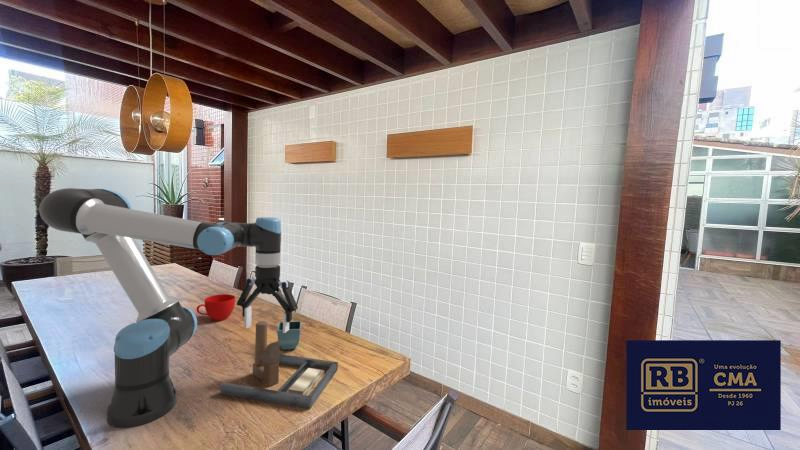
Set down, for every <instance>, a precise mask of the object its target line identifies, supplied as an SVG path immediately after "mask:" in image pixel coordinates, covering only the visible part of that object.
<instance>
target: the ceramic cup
mask: <svg viewBox="0 0 800 450" xmlns="http://www.w3.org/2000/svg"><path fill="white" fill-rule="evenodd" d="M235 304H236V296H235V295H233V294H229V293H228V294H227V293H226V294H214V295H211V296H207V297H205V298H204V304H198V305H197V307H196V312H197V313H198V314H199V315H202V316H208V317H209V318H210V319H211V320H212V321H215V322H216V321H217V322H219V321H224V320H227V319H228V318H229V317H230V316H231V314H232V313H233V311H234V309H235V307H236V306H235ZM202 307H204V308H205V313H204V312H201V311H200V308H202Z"/></svg>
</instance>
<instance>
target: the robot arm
mask: <svg viewBox="0 0 800 450" xmlns="http://www.w3.org/2000/svg"><path fill="white" fill-rule="evenodd" d="M38 212H39V215H40V218H41V220H42V221H43V222H44V223H45V224H46V225H47V226H49V227H50V228H52V229H55V230H57V231H60V232H68V233H73V234H80V235H82V237H83V238H84V240H85V242H90V243H93V244H95V245H96V246H97V248H98V250H99V252H100V254H101V255H102V256H103V258H104V260H105V261H106V263H107V265H108V266H109V268H110V269H111V271H112V272H113V274H114V276H115V277H116V279H117V281H118V283H119V285H120V286H121V287H122V289H123V291H124V292H125V294H126V295H127V297H128V299H129V300H130V302H131V304H132V305H133V308H135V310H136V312H137V313H138V314H137V317H136V319H135V322H132V323H130V324H128V325H126V326H124V327H122V328H121V329H120V330H119V331H118V333H117V334H116V336H115V338H114V346H113V352H114V386H115V387H114V391H113V394H112V396H111V401H110V404H109V405H108V407H107V409H106V422H107V424H108V425H110V426H111V427H114V428H130V427H136V426H141V425H144V424H147V423H149V422H152V421H155V420H157V419H159V418H161V417H162V416H164V415H166V414H168V413H169V412H170V411H171V410H172V409H173V408H174V407H175V405H176V404H177V397H178V396H177V395H178V394H177V390H176V388H175V387H174V386H175V385H174V383H173V381H172V379H171V377H170V357H171V356H172V355H174V353H176V352H177V351H178V350H179V349H180V348H181V347H183V346H184V345H185V344H186V343H188V342H189V341H190V340H191V338H192V337H193V336H194V334H195V333H196V331H197V327H198V319H197V316H196V314H195V313H194V311H193V310H192V309H190V308H189V307H185V306H182V305H181V303H180V301H179V300H177V299H175V298H171V297H170V295H169V294H168V293H167V291H166V289H165V287H164V286H163V284H162V282H161V281H160V279H159V277H158V275H157V273H156V272H155V271H154V268H153V267H152V265H151V263H150V262H149V260H148V259H147V257H146V256H145V253H144V252H143V250H142V248H141V247H140V245H139V243H138V242H137V240H140V241H146V242H153V243H159V244H164V245H169V246H174V247H175V246H176V247H182V248H188V249H195V250H199V251H201V252H202V253H204V254H206V255H208V256H219V255H223V254H225V253H227V252H229V251H231V250H233V249H234V248H237V247H238V248H239V247H247V248H248V247H249V248H252V247H254V249H255V252H254V253H255V256H254V257H255V261H254V262H255V263H254V264H255V265H256V266H255V267H254V270H255V271H254V273H255V274H254V276H255V277H248V278H246V279H245V286H244V288H243V290H242V292H241V294H240V295H239V296H240V297H239V298H238V299H237V302H236V305H237V306H238V307H239V306H240V307H241V308H242V318H244V322H243V323H244V325H243V327H244V329H249V327H251V326H252V321H253V318H252V314H253V312H252V310H253V307H252V306H251V304H252V303H253V302H254V300H256V299H257V297H259V294H261V295H264V294H265V295H272V297H274V298H275V299H276V301H277V302H278V304H279V305H280V306H281V308H282V309H283V310H284V312H283V313H282V322H283V333H286V332H287V331H288V330H289V322H292V320H293V318H292V317H293V312H295V311H296V310H298V309H299V307H298V305H297V301H296V300H295V298H294V295H293V292H292V290H291V288H290V281H289V280H285V281H281V279H280V276H281V266H280V264H281V249H282V248H281V244H282V226H281V225H282V223H281V219H280V218H278V217H270V216H268V217H267V216H264V217H263V216H261V217H260V216H259V217H257V218H256V219H255V222H251V223H248V222H231V221H223V222H222V221H221V222H219V221H218V222H217V223H215V224H213V223H208V222H202V221H198V220H191V219H185V218H181V217H176V216H170V215H165V214H164V215H163V214H159V213H154V212H148V211H142V210H137V209H133V208H132V205H131V202H130V201H129V200H128V199H127V198H126V197H125V196H124V195H122V194H121V193H118V192H116V191H113V190H108V189H105V188H91V189H90V188H73V187H69V188H68V187H66V188H61V189H60V188H59V189H57V190H54V191H51V192H50V193H48V194H47V195H46V196H45V197H43V199H42V200H41V201H40V203H39V209H38ZM254 285H255V287H256V288H255V289H254V290H253V292H252V289H253V286H254ZM250 292H252V293H251V294H250ZM249 294H250V295H249ZM248 296H249V297H248Z"/></svg>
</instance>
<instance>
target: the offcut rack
mask: <svg viewBox="0 0 800 450" xmlns="http://www.w3.org/2000/svg"><path fill="white" fill-rule="evenodd" d="M279 365H286V366H291V367H298V369H296V371H295V372H294V373H293V374H292V375H291V376H290V377H289V378H288V379H287V380H286V381H285V382H284V383H283V384H282V385H281V386H280V388H279V389H277V390H275V389H274V390H273V389H269V388H263V387H262V388H261V387H255V386H248V385H243V384H242V385H241V384H236V383H235V384H234V383H229V382H221V384H219V385H220V387H219V390H220V391H219V394H220V395H224V396H230V397H237V398H243V399H249V400H255V401H262V402H266V403H267V402H268V403H274V404H278V405H279V404H280V405H286V406H289V407H290V406H292V407H297V408H303V409H310V410H311V409H312V408H313V406H314V404H315V403H316V402H317V400H318V398H319V397H320V396H321V395H322V393H323V392H324V390H325V389H326V388H327V386H328V384H329V383H330V382H331V380H332V379H333V377H334V376H335V374H336V373H337V372H338V368H339V367H338V365H339V362H338V361H333V360H324V359H319V358H310V357H304V356H303V357H302V356H295V355H290V354H289V355H287V354H281V353H279ZM308 368H313V369H319V370H324V371H326V372H325V373H324V374H323V375H322V377H321V378H320V379H319V381H318V382H317V383H316V384H315V386H314V387H313V388H312V390H311V391H310V392H309V393H310V394H309V395H308V394H307V395H300V394H294V393H289V388H290V387H291V386H292V385H293V384H294V383H295V382H296V381H297V380H298V378H299V377H300V376H301V375H302V374H303V373H304V372H305V371H306V370H307V369H308Z"/></svg>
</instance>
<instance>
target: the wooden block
mask: <svg viewBox="0 0 800 450" xmlns="http://www.w3.org/2000/svg"><path fill="white" fill-rule="evenodd" d="M254 345H255V348H254V349H255V352H254V353H255V354H254V363H253V364H252V375H253V376H255V377H256V378H257V379H258V380H259V381H261V382H262V383H263V384H265V386H267V387H272V386H273V385H276V384H279V381H280V380H279V377H280V376H279V375H280V374H279V373H280V364H279V354H280V348H281V347H280V341H278V340H277V341H274V342H272V343H269V344H268V322H267V321H265V320H264V321H258V322H256V324H255V343H254Z"/></svg>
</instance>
